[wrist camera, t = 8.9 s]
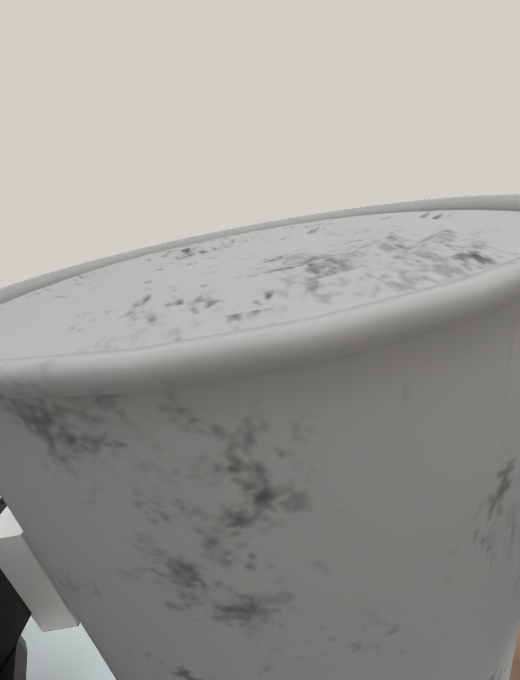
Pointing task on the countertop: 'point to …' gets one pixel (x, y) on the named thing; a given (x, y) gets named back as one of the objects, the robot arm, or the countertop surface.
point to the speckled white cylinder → (279, 445)
